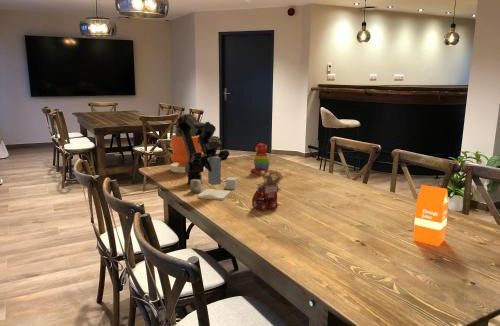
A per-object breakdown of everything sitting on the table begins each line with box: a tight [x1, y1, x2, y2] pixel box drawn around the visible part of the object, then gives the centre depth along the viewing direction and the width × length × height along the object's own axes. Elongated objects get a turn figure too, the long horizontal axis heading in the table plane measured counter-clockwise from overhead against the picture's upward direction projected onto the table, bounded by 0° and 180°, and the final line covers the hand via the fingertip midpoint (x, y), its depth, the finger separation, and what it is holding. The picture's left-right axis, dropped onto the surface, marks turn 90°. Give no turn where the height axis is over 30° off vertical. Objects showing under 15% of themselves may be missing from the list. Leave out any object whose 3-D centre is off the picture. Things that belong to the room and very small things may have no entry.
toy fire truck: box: [251, 185, 279, 212], centre depth 184 cm, size 7×12×10 cm, turn 115°
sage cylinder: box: [190, 179, 202, 194], centre depth 209 cm, size 5×5×6 cm
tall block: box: [207, 156, 222, 186], centre depth 202 cm, size 4×4×13 cm
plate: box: [196, 188, 232, 201], centre depth 204 cm, size 13×13×1 cm
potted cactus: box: [169, 112, 206, 174], centre depth 254 cm, size 22×22×35 cm
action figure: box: [260, 169, 284, 187], centre depth 223 cm, size 10×11×15 cm
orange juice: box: [412, 184, 449, 247], centre depth 149 cm, size 8×9×20 cm
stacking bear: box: [250, 142, 270, 176], centre depth 252 cm, size 11×10×18 cm
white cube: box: [225, 176, 239, 190], centre depth 218 cm, size 5×5×5 cm
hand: (215, 171), depth 201 cm, fingers closed on tall block, 4 cm apart
